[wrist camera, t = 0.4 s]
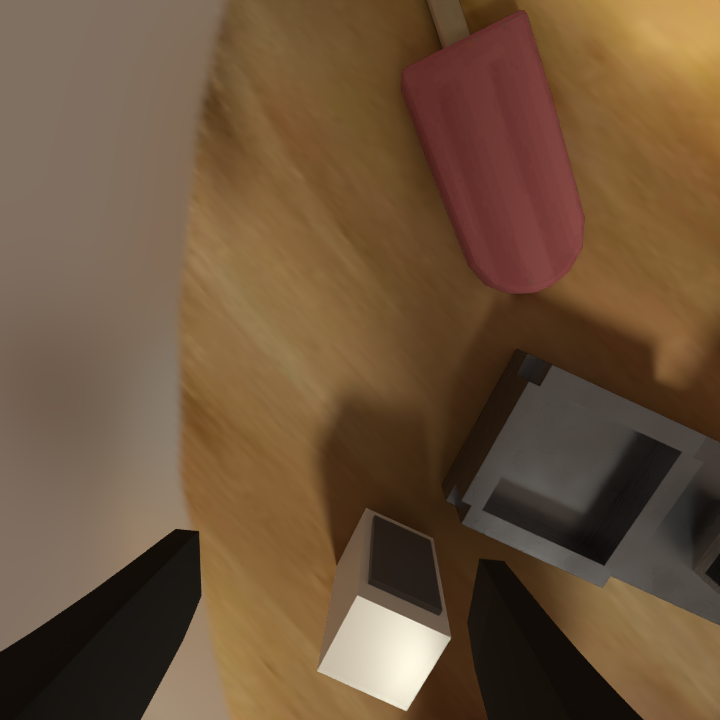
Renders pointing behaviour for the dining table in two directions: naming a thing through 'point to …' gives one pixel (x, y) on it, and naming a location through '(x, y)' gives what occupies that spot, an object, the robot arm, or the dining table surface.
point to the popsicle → (496, 150)
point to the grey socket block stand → (593, 485)
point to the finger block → (385, 612)
